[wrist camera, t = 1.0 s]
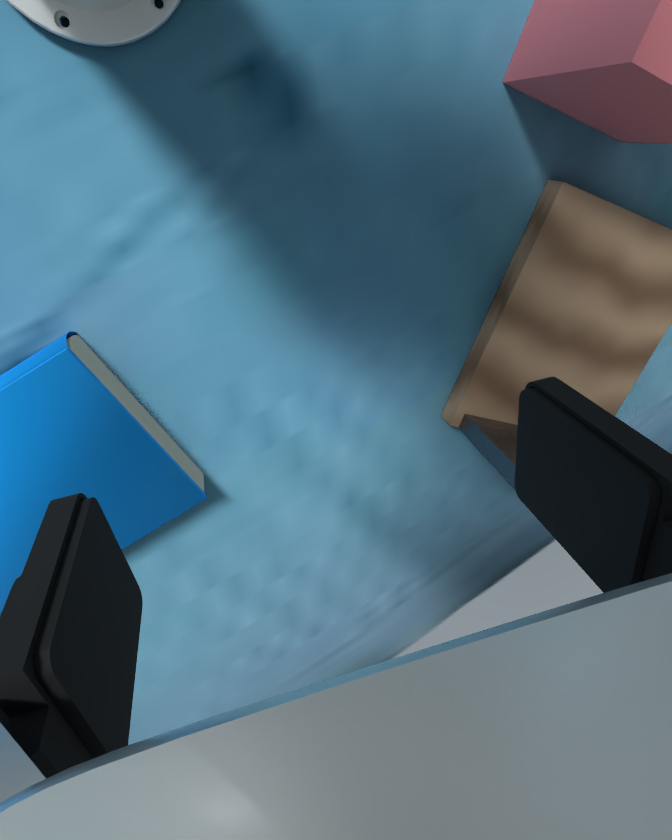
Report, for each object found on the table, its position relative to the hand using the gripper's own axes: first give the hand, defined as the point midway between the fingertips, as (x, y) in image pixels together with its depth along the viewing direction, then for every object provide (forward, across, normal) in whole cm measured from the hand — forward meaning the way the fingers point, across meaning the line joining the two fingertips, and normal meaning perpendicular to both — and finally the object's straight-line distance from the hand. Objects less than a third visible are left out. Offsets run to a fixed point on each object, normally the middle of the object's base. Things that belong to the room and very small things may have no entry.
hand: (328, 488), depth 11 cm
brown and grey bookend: (+32, -29, +14) cm, 45 cm away
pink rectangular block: (+32, -28, -7) cm, 43 cm away
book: (+32, +22, +16) cm, 42 cm away
